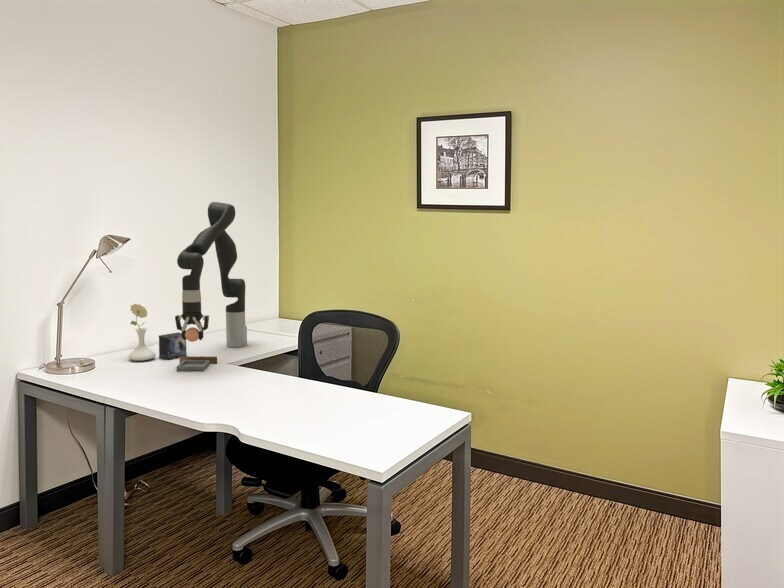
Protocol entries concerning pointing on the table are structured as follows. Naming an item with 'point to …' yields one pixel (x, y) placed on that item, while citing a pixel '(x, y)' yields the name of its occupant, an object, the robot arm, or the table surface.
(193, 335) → the ball
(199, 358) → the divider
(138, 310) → the flower in vase
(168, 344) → the small box
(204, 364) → the tray
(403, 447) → the table surface
